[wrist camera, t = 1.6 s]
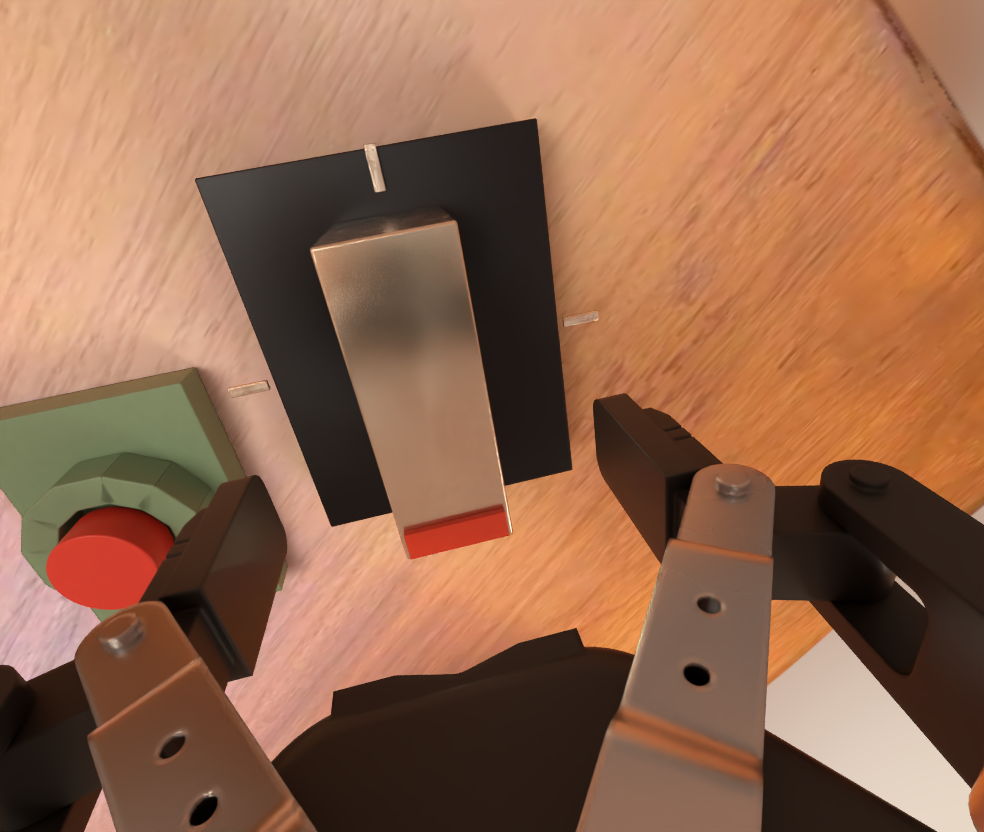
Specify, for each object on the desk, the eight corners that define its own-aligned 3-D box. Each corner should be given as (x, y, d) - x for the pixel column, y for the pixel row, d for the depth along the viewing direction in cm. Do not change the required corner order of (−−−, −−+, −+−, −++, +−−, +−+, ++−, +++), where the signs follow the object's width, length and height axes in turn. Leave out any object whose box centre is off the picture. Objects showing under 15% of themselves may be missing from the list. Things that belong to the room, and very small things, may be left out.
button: (52, 518, 19) (22, 549, 18) (150, 496, 19) (130, 524, 18) (101, 586, 21) (78, 620, 19) (191, 565, 21) (175, 597, 20)
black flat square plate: (170, 182, 18) (136, 184, 15) (561, 112, 19) (585, 105, 17) (304, 503, 24) (294, 540, 22) (587, 438, 26) (607, 465, 23)
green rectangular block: (-12, 409, 20) (-86, 454, 17) (195, 366, 21) (161, 402, 18) (125, 605, 25) (88, 667, 22) (288, 565, 26) (274, 620, 23)
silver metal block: (332, 224, 17) (307, 250, 12) (438, 204, 17) (458, 221, 12) (404, 471, 22) (407, 565, 16) (486, 452, 22) (515, 538, 17)
